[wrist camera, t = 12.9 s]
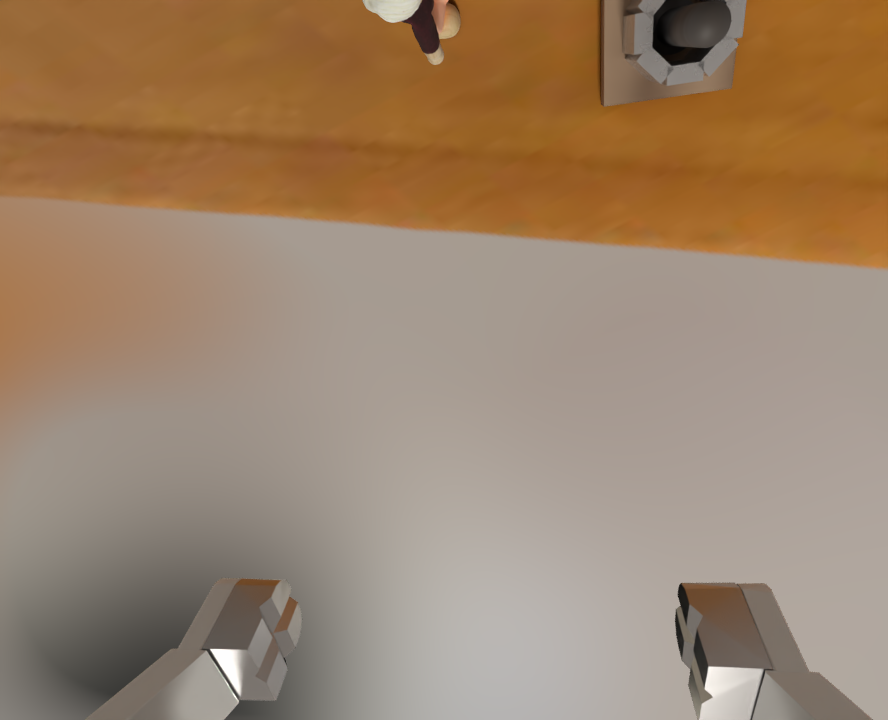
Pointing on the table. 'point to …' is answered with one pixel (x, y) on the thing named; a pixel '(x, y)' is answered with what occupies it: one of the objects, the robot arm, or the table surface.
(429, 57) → the grandmother figurine
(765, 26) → the table surface
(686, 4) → the post block
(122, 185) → the table surface
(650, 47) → the steel ring
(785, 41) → the table surface
